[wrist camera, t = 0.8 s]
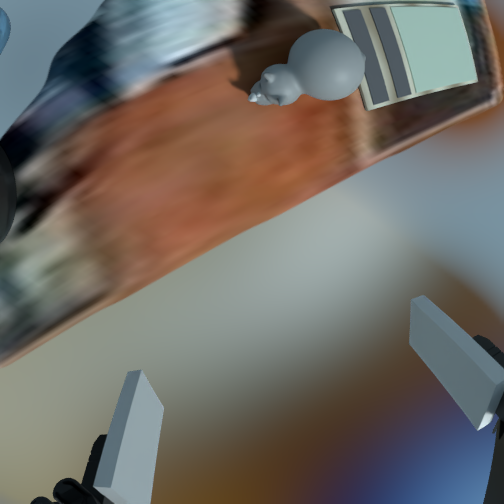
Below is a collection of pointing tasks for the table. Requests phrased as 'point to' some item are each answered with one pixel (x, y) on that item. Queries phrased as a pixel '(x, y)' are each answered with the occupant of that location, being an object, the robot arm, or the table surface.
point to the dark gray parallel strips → (371, 62)
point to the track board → (381, 55)
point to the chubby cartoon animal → (313, 70)
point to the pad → (434, 46)
